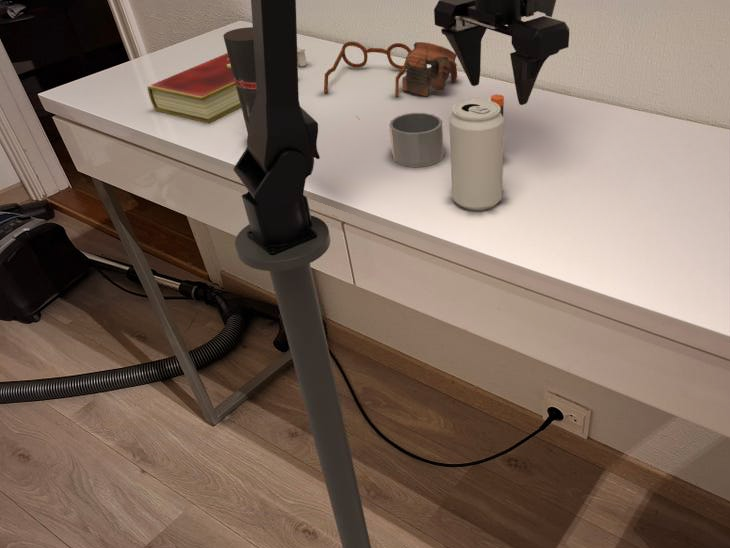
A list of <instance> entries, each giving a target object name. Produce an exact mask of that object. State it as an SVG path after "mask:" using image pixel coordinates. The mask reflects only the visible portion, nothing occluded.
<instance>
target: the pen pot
mask: <svg viewBox="0 0 730 548" xmlns="http://www.w3.org/2000/svg"><path fill="white" fill-rule="evenodd" d="M388 126H389V136H390V145H391V154H392V158H393V161H394V162H395V163H397V164H399V165H400V166H403V167H408V168H424V167H429V166H432V165H435V164H437V163H439V162H441V160H443V158H444V154H445V153H444V151H445V148H444V129H443V127H444V126H443V120H442V119H441V118H440V116H438V115H435V114H432V113H426V112H410V113H403V114H401V115H397V116H395V117H394V118H393V119H391V120H390V122H389V124H388Z"/></svg>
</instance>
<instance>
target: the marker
mask: <svg viewBox="0 0 730 548" xmlns="http://www.w3.org/2000/svg"><path fill="white" fill-rule="evenodd" d="M490 101H492V102H495V103H497V104H498V105H499V106H500V108H501V110H500V113H501V114H502V116H503V117H504V105H505V96H504V95H503V94H499V93H498V94H493V95H491V96H490Z"/></svg>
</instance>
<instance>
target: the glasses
mask: <svg viewBox="0 0 730 548" xmlns="http://www.w3.org/2000/svg"><path fill="white" fill-rule="evenodd" d="M351 46H354V47H357V48H358V49H359V50H361V51H362V53H363V61H362V62H360V63H354V62H351V60H349V59H348V58H347V55H346V49H347V48H348V47H351ZM396 48H400V49H401V48H402V49H404V50H406V52H407V55H406V57H407V56H408V54H409V53H410V52H411V51H412V49H411V48H410V47H409V46H408V45H406V44H405V43H401V42H396V43H392V44H391V45H389V46H388V47H387V49H385V48H382V47H369V48H366V47H365V46H364V45H363V44H361V43H360V42H357V41H346V42H344V44H343V45H342V46H341V49H340V51H339V54H338V55H337V56H336V57H337V58H336V59H335V61H334V63H333V65H332V67H331V68H328V70H327V71H326V72H325V73H324V83H323V93H324V94H328V89H329V76H330V75H331V74H332V73H333V72H335V71H336V70H337V69H338V66H339V64H340V62H341V60H342V59H343V61H344V63H345V64H346V65H348V66H349V67H352V68H356V69H360V68H363V67H365V66H366V65H367V62H368V54H369V53H381V54H385V55H386V57H387V60H388V63H389V64H390V65H391V66H392V67H393V68H395V69H397V70H400V71H399V72H398V73H397V74H396V76H395V84H394V85H395V89H394V90H395V91H394V92H395V93H394V95H395V98H398V97H399V91H400V90H399V88H400V87H399V86H400V78H401V77H402V76H403V75H405V74H406V70H407V69H406V67H407V64H408V63H407V61H406V60H407V59H406V58H405V61H404V64H403V65H400V64H397V63H395V62H394V60H393V59H392V55H391V52H392V50H393V49H396Z"/></svg>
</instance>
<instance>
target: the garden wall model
mask: <svg viewBox="0 0 730 548" xmlns="http://www.w3.org/2000/svg"><path fill="white" fill-rule="evenodd" d="M305 52H306V49H305V48H299V47H297V58H298V67H305V66H307V59H306V53H305Z"/></svg>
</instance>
